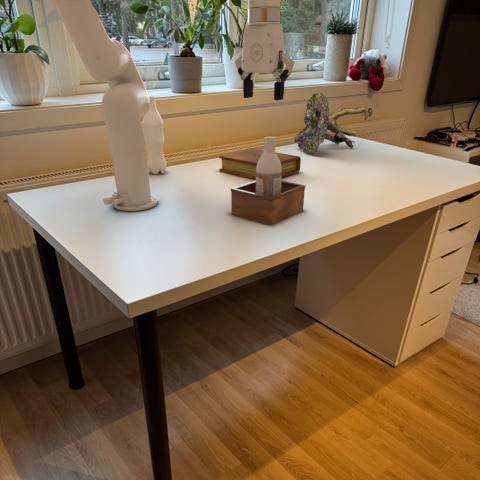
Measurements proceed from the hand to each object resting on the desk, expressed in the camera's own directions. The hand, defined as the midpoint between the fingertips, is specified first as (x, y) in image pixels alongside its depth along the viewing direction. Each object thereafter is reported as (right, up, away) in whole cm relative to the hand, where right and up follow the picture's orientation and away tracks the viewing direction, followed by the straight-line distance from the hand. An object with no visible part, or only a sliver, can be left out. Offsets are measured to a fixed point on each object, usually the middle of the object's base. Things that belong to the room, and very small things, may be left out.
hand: (263, 98), depth 114 cm
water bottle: (-36, -2, +51) cm, 62 cm away
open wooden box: (+2, -26, +13) cm, 29 cm away
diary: (+1, -2, +51) cm, 51 cm away
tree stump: (+32, +20, +86) cm, 94 cm away
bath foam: (+2, -26, +13) cm, 29 cm away
